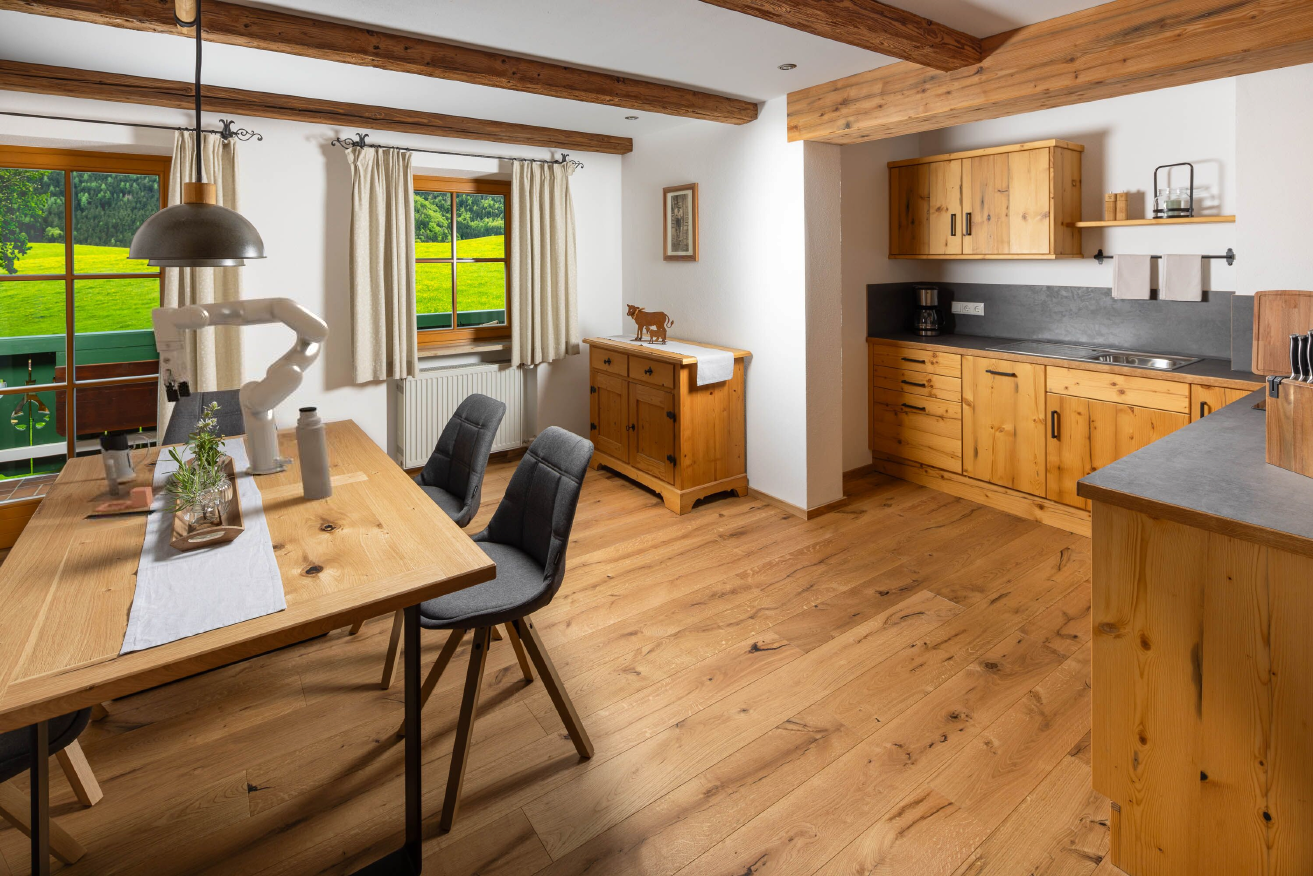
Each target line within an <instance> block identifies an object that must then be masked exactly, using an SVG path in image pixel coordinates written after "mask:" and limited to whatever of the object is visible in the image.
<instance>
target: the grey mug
mask: <svg viewBox="0 0 1313 876" xmlns="http://www.w3.org/2000/svg"><path fill="white" fill-rule="evenodd" d="M127 435H128V434H127V433H126V432H112V433H107V434H101V435H100V436H99V446H100V451H101V457H102V462H103V463H102V464H104V460H110V459H113V461H114V467H115V472H116V477H117V480H125V479H126V480H127V479H134V478H136V477H137V474H136V473H135V469H136V468H137V466H138V465H140V464H141V463H142V462H143V461H144V460H145V459H146V458H147V457H148V455H149V453H150V445H151V444H150V441H149V439H148V438H147V437H145V436H137V437H135V438H134V440H133V447H132V448H130V447H129V442H128V436H127ZM140 438H142V439H145V440H146V442H147V451H146V454H145V455H144V457H143V458H142V459H141V460H140V461H139V462H138V463H137V464H135V466H134V463H133V460H132V453H131V451H133V450H134V449H136V441H137V439H140ZM103 467H104V469H105V466H104V465H103ZM104 471H105V470H104ZM104 473H105V474H106V471H105V472H104ZM135 476H136V477H135ZM133 477H134V478H133ZM104 480H105V481H106V480H107V477H106V476H105V478H104Z"/></svg>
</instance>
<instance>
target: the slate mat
mask: <svg viewBox="0 0 1313 876" xmlns="http://www.w3.org/2000/svg"><path fill="white" fill-rule="evenodd" d="M124 512H125V513H120V512H119V513H120V514H109V515H96V513H95V514H88V515H86V516H85V517H84V518H82V521H85V520H84V519H93V520H102V519H101V518H106V519H115V518H116V517H118V518H126V517H127V518H130V517H141V516H142V517H143V516H152V514H154V513H155V512H157V509H150V510H139V511H138V510H135V511H124ZM116 519H117V518H116Z"/></svg>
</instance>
